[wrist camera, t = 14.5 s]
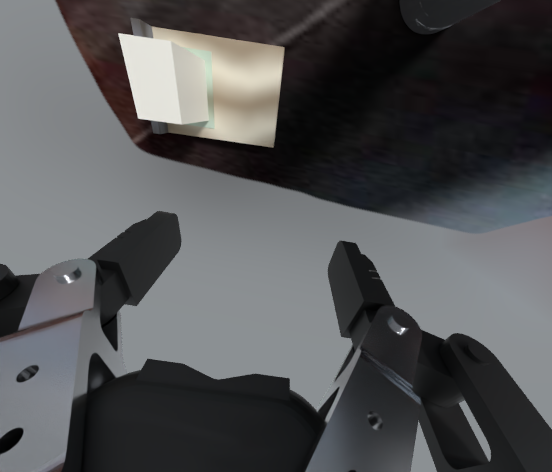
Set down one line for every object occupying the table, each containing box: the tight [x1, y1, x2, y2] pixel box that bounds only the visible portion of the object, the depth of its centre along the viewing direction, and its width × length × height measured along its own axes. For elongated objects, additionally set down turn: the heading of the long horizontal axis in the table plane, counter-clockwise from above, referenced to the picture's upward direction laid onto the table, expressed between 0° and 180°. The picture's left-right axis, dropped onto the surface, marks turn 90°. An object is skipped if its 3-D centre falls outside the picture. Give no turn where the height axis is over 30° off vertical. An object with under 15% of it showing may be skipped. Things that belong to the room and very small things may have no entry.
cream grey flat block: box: [130, 18, 284, 148], centre depth 28 cm, size 12×18×4 cm, turn 83°
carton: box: [118, 33, 209, 125], centre depth 24 cm, size 5×7×9 cm
